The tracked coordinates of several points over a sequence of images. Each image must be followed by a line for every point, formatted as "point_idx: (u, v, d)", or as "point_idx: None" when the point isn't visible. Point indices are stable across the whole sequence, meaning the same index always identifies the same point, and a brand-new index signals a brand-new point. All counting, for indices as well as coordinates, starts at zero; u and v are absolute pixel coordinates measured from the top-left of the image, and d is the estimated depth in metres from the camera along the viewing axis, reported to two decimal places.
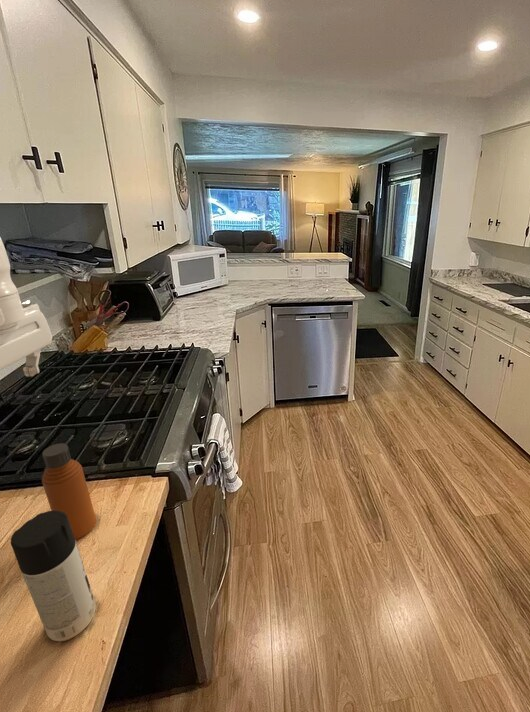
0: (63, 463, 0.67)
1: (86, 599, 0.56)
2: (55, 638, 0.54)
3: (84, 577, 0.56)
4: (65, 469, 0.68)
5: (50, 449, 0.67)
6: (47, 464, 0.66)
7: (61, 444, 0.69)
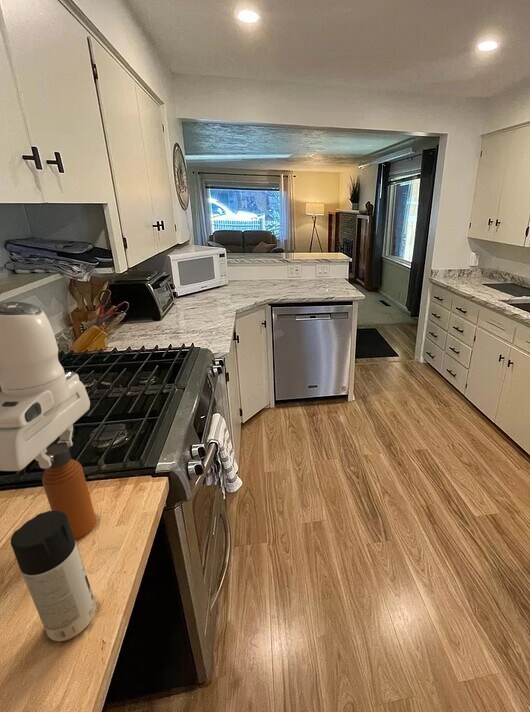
0: (63, 463, 0.67)
1: (86, 599, 0.56)
2: (55, 638, 0.54)
3: (84, 577, 0.56)
4: (65, 469, 0.68)
5: (50, 449, 0.67)
6: None
7: (61, 444, 0.69)
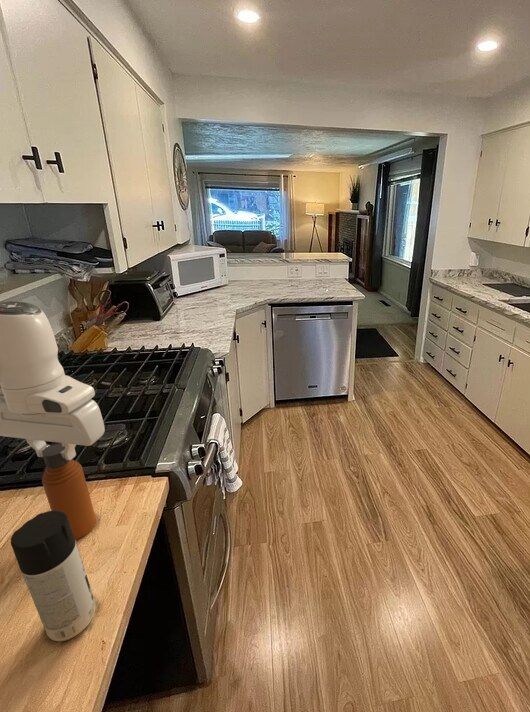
0: None
1: (86, 599, 0.56)
2: (55, 638, 0.54)
3: (84, 577, 0.56)
4: (65, 469, 0.68)
5: (50, 452, 0.66)
6: (63, 461, 0.67)
7: (48, 448, 0.68)
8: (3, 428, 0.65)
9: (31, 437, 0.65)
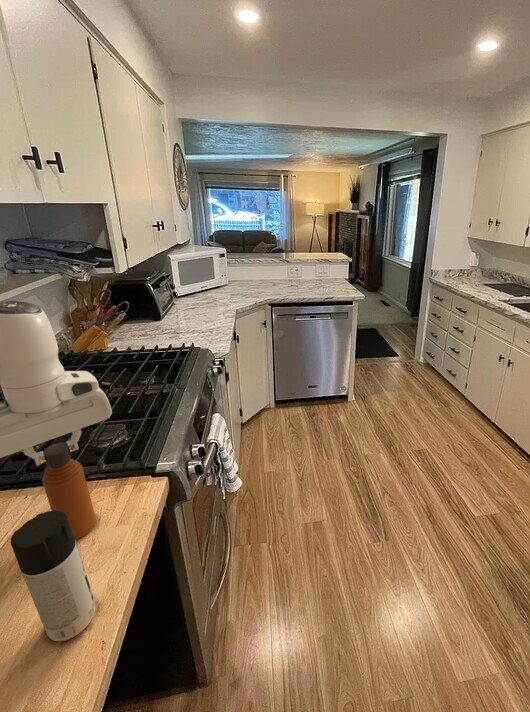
0: None
1: (86, 599, 0.56)
2: (55, 638, 0.54)
3: (84, 577, 0.56)
4: (65, 469, 0.68)
5: (56, 451, 0.67)
6: (70, 454, 0.69)
7: (45, 452, 0.66)
8: None
9: (38, 441, 0.63)
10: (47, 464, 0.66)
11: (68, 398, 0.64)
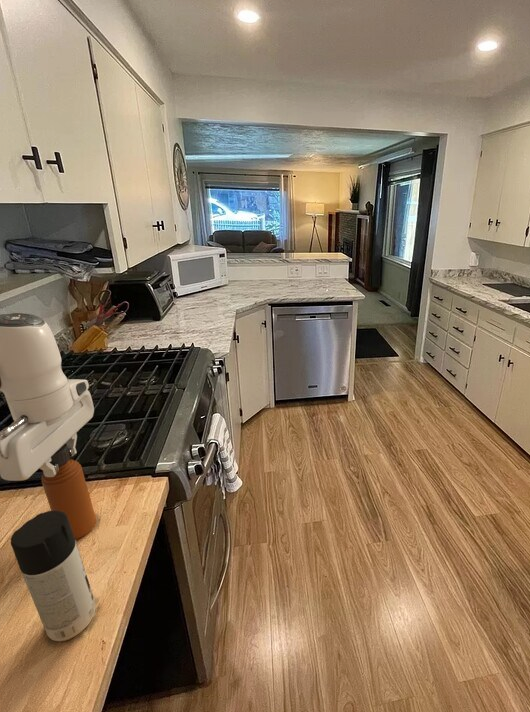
0: None
1: (86, 599, 0.56)
2: (55, 638, 0.54)
3: (84, 577, 0.56)
4: (65, 469, 0.68)
5: None
6: None
7: None
8: (32, 462, 0.59)
9: (56, 448, 0.65)
10: None
11: (76, 398, 0.68)
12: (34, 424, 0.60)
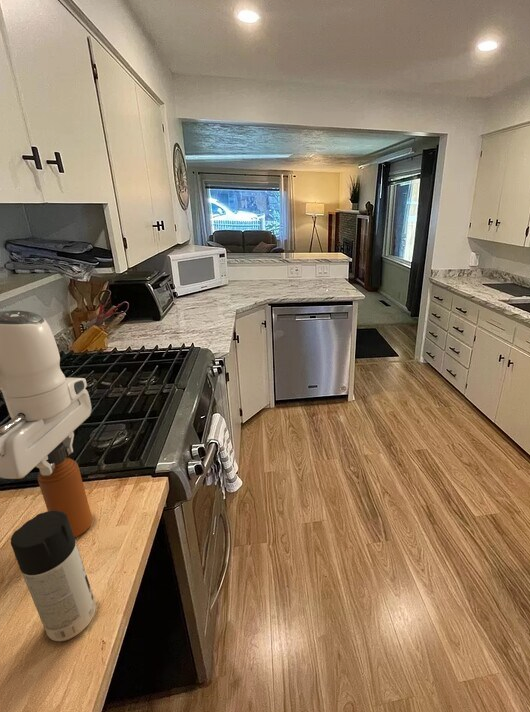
0: None
1: (86, 599, 0.56)
2: (55, 638, 0.54)
3: (84, 577, 0.56)
4: (61, 467, 0.67)
5: None
6: None
7: None
8: (29, 460, 0.59)
9: (53, 446, 0.65)
10: None
11: (74, 397, 0.67)
12: (31, 422, 0.60)
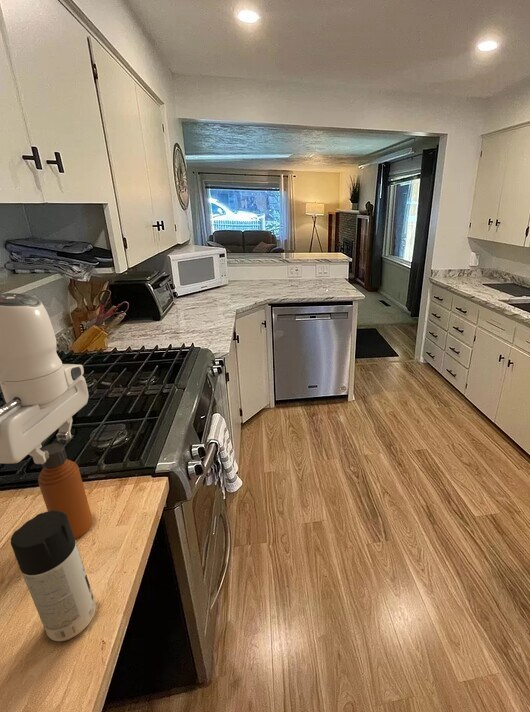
0: None
1: (86, 599, 0.56)
2: (55, 638, 0.54)
3: (84, 577, 0.56)
4: (61, 469, 0.68)
5: (55, 449, 0.67)
6: None
7: None
8: (24, 445, 0.58)
9: (49, 432, 0.64)
10: (50, 464, 0.66)
11: (71, 383, 0.66)
12: (27, 407, 0.59)
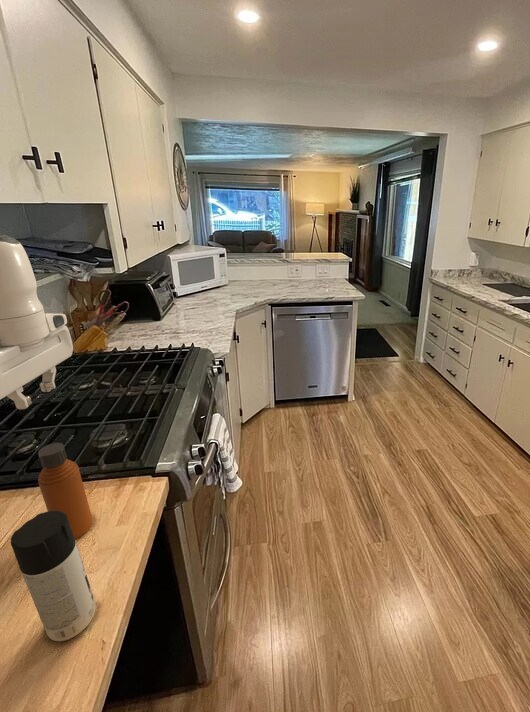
0: None
1: (86, 599, 0.56)
2: (55, 638, 0.54)
3: (84, 577, 0.56)
4: (61, 469, 0.68)
5: (55, 449, 0.67)
6: None
7: (44, 454, 0.66)
8: (4, 384, 0.58)
9: (31, 377, 0.63)
10: (50, 464, 0.66)
11: (53, 329, 0.66)
12: (6, 347, 0.59)
